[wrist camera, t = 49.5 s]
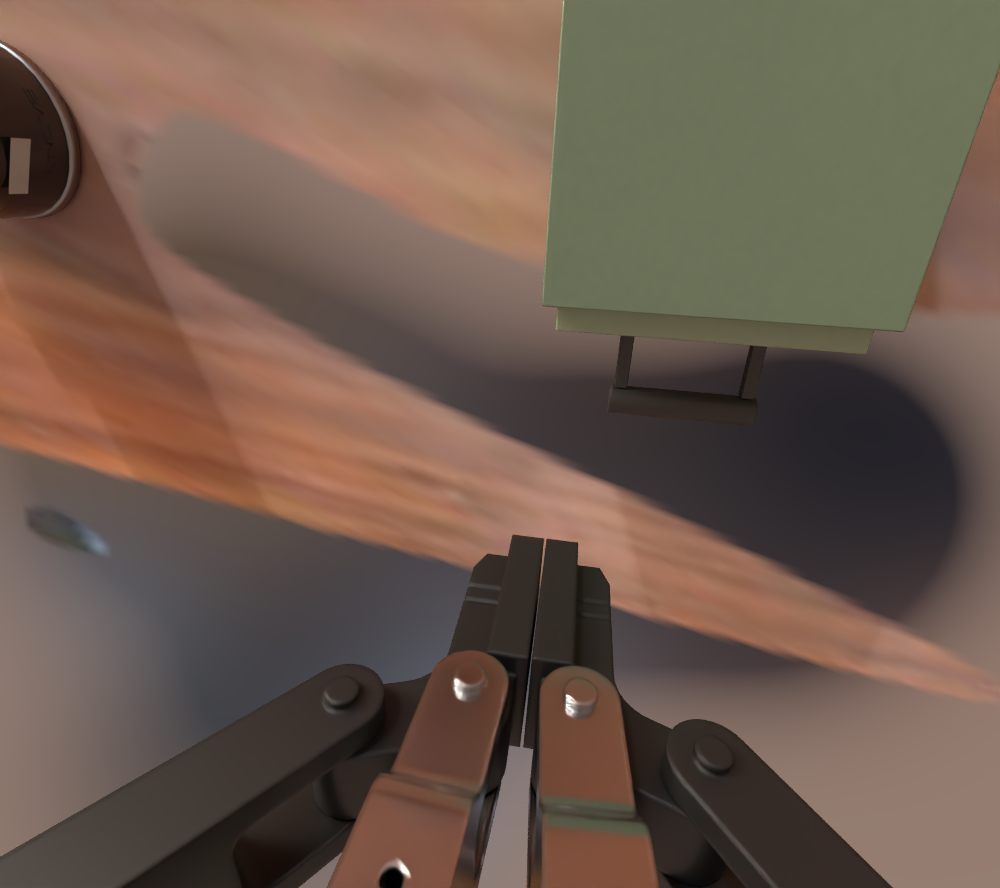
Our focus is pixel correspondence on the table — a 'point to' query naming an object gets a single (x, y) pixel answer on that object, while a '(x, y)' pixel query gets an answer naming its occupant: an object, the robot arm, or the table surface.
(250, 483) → the table surface
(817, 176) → the cabinet
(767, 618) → the table surface
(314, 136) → the table surface
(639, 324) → the drawer
